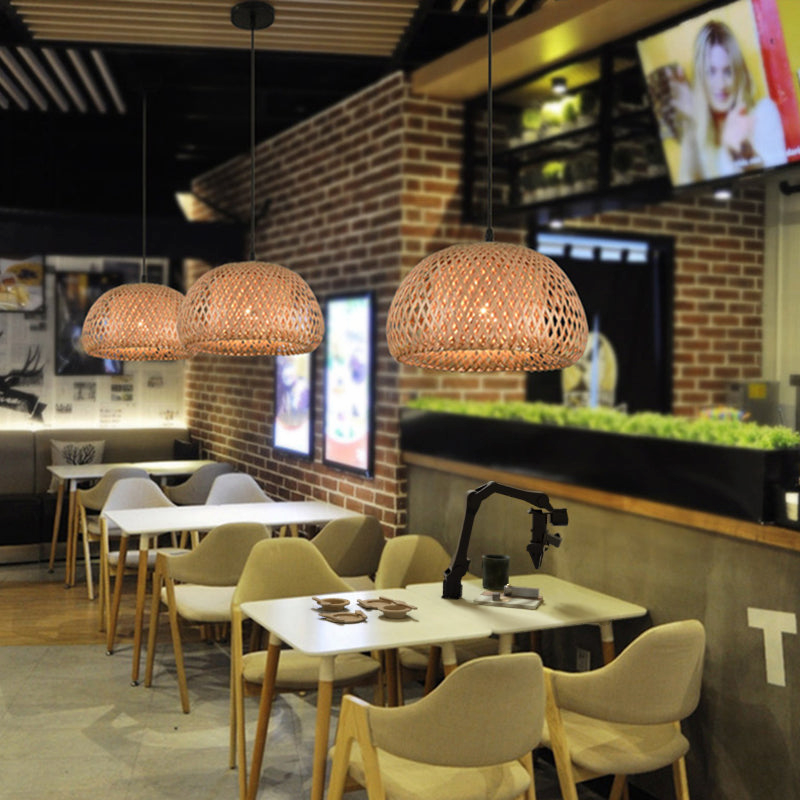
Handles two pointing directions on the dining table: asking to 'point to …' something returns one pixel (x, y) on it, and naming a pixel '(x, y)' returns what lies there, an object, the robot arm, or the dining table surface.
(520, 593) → the bar
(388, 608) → the tableware set
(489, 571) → the mug
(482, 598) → the door mock-up board
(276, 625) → the dining table surface
